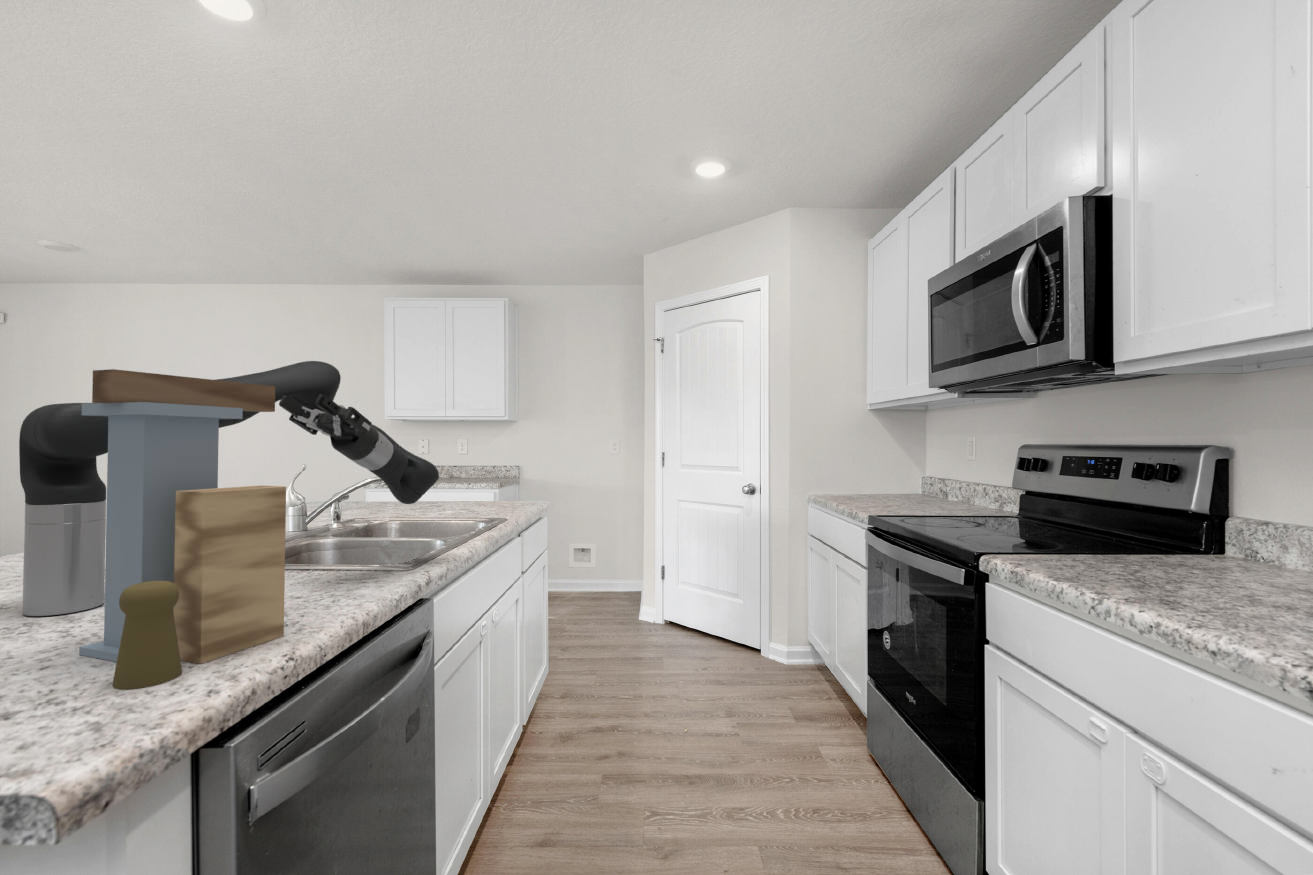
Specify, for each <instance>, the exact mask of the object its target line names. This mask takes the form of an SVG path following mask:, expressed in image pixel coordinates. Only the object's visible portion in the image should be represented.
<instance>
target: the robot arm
mask: <svg viewBox="0 0 1313 875" xmlns="http://www.w3.org/2000/svg"><path fill="white" fill-rule="evenodd" d="M341 378H342V376H341V374H340V370H339V369H337V367H335V366H334V365H332V364H330V363H328V362H325V361H321V360H319V361H318V360H307V361H306V360H305V361H302V362H301V361H300V362H297V363H293V364H289V365H284V366H281V367H277V368H273V369H270V370H269V369H268V370H265V371H261V372H256V373H255V372H254V373H251V374H244V375H238V376H233V377H225V378H219V379H215V380H220V381H230V382H239V383H249V384H259V385H268V386H275V403H277V402H278V405H279V406H280V408H282V409H284V411H286V412H288V413H289V414H290V416H289V418H288V420H289V421H290V422H291V423H293V424H295V425H297V426H298V427H300V428H301V429H303V431H305V432H308V433H309V434H311V435H313V436H314V435H315V436H316V435H317V434H318V432H320V433H321V434H322V435H325V436H327V437H329V438H330V443H331V444H330V445H331V447H332V448H333V449H334V450H335V451H337V452H339V453H340V454H341V455H343V456H344V457H345V458H348V459H349V460H350V461H352V462H353V463H355V464H356V465H358V466H360V467H361V468H363V469H366V470H368V471H369V472H370V473H372V474H374V475H375V476H376V477H378V478H379V479H380V480H381V481H382V482H383V483H384V484H385V485H386V486H387V488H388V489H389V491H390V492H391V494H392V495H393V496H394V498H395V499H396V500H397V501H398V502H399V503H402V504H405V505H413V504H415V503H417V502H418V501H419V500H420V499H421V498H422V497H423V496H424V495H425V494H426V493H427V492H428V491H429V490H430V489H431V488H432V487H433V486H434V485H435V484H436V483H437V481H438V480H439V478H440V473H439V470H438V468H437V466H435V464H433V463H432V462H430V461H428V460H427V459H425V458H422V457H421V456H417V455H415V454H414V453H412V452H410V451H408V450H407V449H405V448H404V447H403V446H401V445H400V444H399V443H398V442H396V440H394V439H393V438H392V437H391V436H390V435H389V434H387V433H386V431H384V430H383V429H382V428H380V427H378V426H377V425H375V424H372V421H370V420H369V419H368V418H367V417H366V416H364V415H363V414H361V412H359V411H358V410H357V409H356V408H354V407H353V406H348V407H347V408H346V406H344V405H342V404H337V403H336V402H334V400H335V398H336V395H337V392H338V390H339V388H340V384H341ZM85 403H86V402H68V403H65V402H64V403H52V404H47V405H43V406H40V407H38V408H36V409H35V408H34V410H32V411H31V412H30V413H29V414H27V415H26V416H25V417H24V419H23V421H22V424H21V426H20V429H19V440H18V442H19V444H18V445H19V447H18V448H19V449H18V451H19V480H20V484H21V487H22V489H23V493H24V503H25V504H24V538H23V539H24V542H23V543H24V544H23V545H24V548H23V551H24V552H23V574H22V576H23V577H22V578H23V580H22V615H24V616H28V617H29V616H30V617H43V616H44V617H45V616H56V615H64V614H71V613H77V612H81V611H85V610H91V609H94V608H97V607H99V606H100V607H101V606H102V605H103V604H105V565H106V515H107V485H106V484H105V483H104V481H103V480H102V479H101V478H100V475H99V473H98V467H97V464H98V463H97V462H98V461H97V457H99V456H102V455H103V456H104V455H105V454H108V416H87V415H82V404H85ZM259 413H260V412H247V411H243V414H242V419H219V429H221V428H225V427H229V426H234V425H237V424H240V423H242V422H245V421H247V420H248V419H251V418H252V417H254V416H256V415H257V414H259ZM353 416H354V417H353Z"/></svg>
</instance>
